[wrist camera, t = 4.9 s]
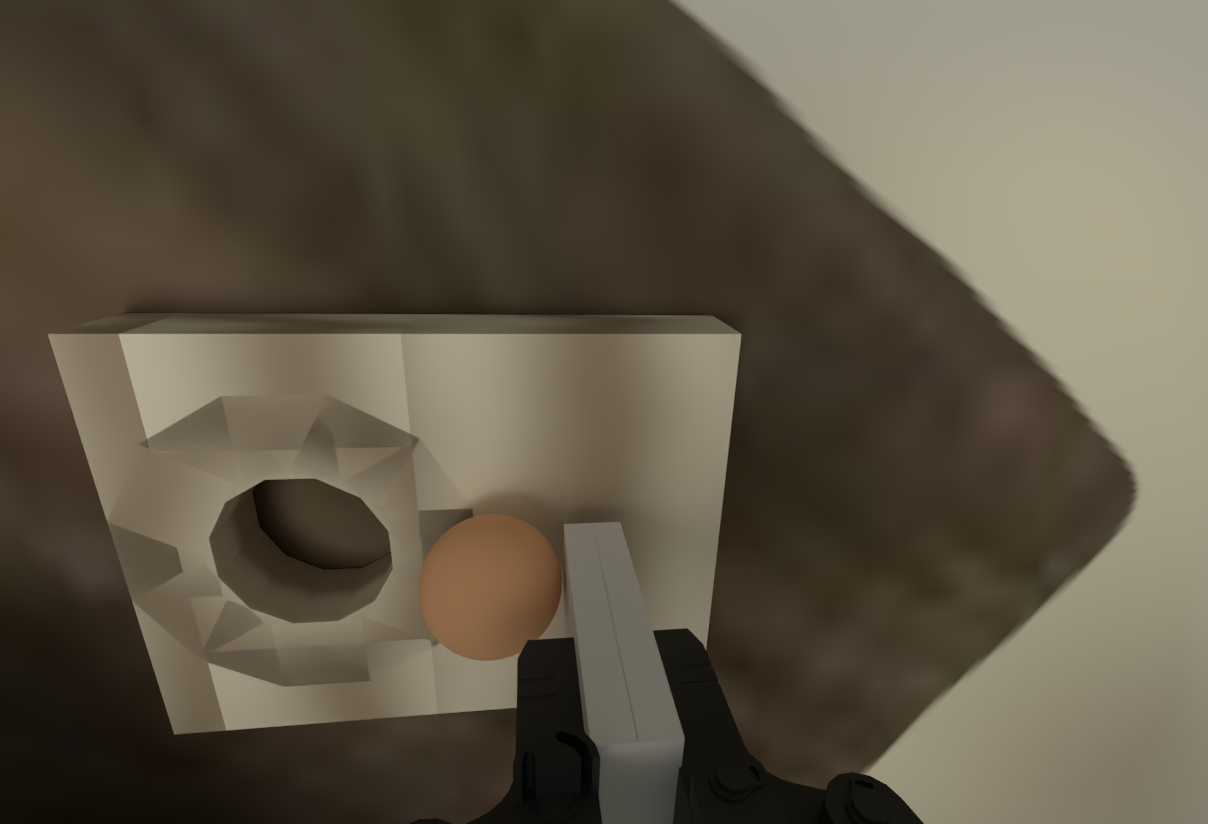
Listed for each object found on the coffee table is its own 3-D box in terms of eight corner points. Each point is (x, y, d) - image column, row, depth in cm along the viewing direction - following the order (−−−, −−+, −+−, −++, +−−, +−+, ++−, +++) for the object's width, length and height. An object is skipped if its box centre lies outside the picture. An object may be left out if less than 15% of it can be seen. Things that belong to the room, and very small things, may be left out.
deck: (217, 669, 19) (174, 734, 17) (122, 312, 15) (47, 333, 13) (682, 638, 21) (701, 693, 19) (712, 315, 17) (741, 333, 15)
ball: (543, 588, 17) (420, 610, 16) (543, 482, 16) (410, 499, 15) (577, 674, 14) (427, 710, 13) (580, 551, 13) (415, 579, 12)
